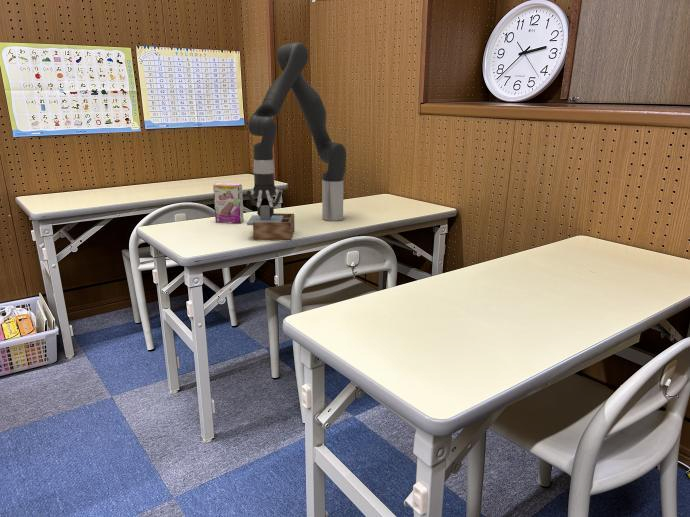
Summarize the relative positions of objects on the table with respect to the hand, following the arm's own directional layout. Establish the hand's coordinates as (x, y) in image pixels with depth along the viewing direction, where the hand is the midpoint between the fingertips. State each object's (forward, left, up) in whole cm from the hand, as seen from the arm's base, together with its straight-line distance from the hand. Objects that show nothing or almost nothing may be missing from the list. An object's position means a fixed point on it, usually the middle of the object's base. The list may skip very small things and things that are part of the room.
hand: (265, 216), depth 193 cm
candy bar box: (+19, -20, -8) cm, 29 cm away
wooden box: (-3, 0, -8) cm, 8 cm away
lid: (0, 0, -2) cm, 2 cm away
